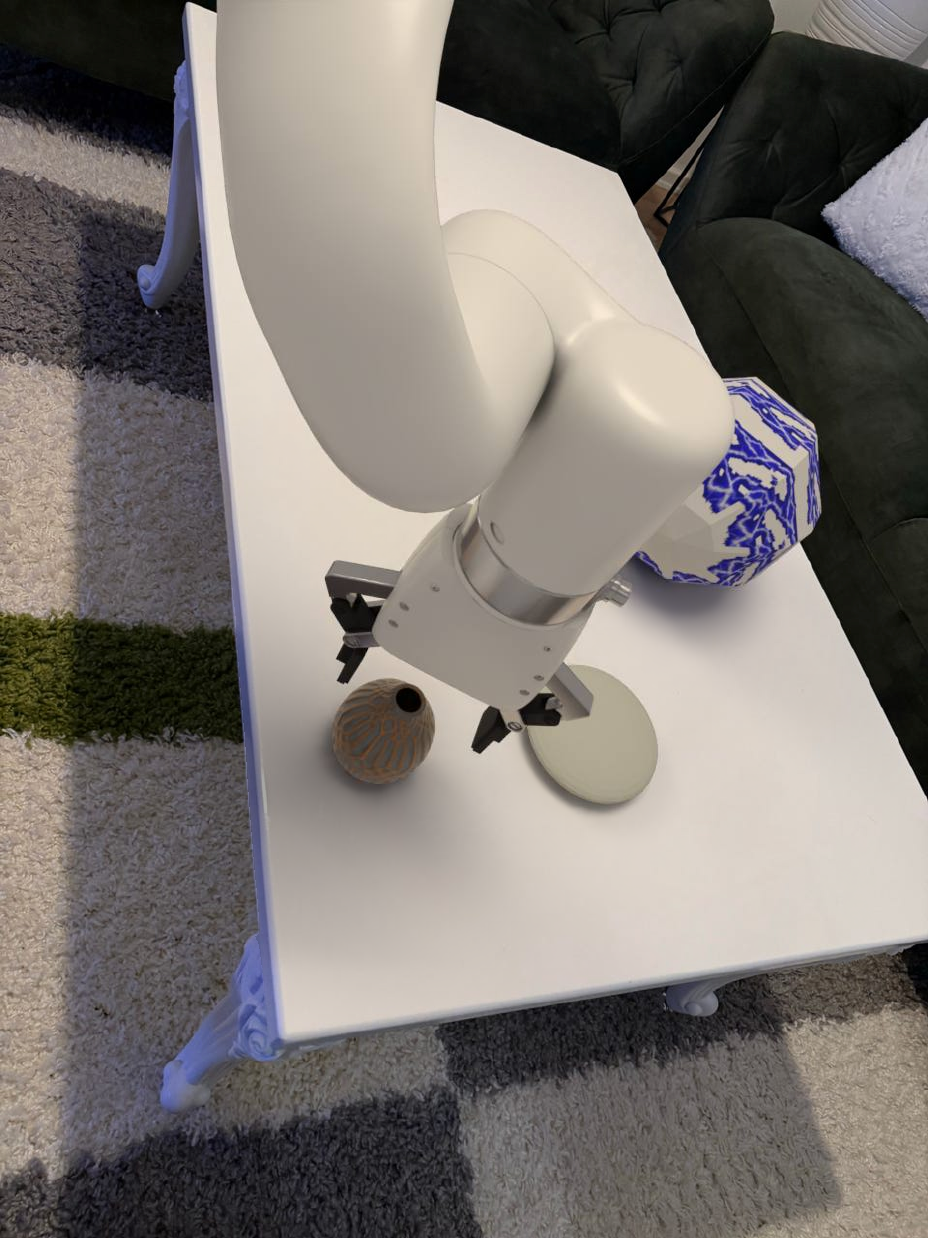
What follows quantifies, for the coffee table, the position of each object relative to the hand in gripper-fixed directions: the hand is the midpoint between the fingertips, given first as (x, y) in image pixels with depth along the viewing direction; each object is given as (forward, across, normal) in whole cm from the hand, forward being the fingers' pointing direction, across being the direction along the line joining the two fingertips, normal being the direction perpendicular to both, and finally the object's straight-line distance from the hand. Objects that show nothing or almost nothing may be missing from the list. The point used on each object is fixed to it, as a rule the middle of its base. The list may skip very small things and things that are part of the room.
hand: (416, 700), depth 57 cm
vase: (+9, 0, 0) cm, 9 cm away
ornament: (+10, -18, -36) cm, 41 cm away
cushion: (+10, -16, -10) cm, 21 cm away
